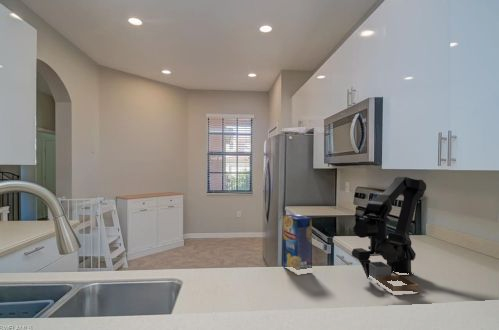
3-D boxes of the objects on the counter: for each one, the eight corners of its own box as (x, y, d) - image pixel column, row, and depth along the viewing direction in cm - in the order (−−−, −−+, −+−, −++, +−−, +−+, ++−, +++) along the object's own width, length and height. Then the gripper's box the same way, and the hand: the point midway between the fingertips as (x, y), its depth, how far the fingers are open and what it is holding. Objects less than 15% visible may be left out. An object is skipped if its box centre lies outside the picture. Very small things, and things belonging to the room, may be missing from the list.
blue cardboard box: (297, 264, 125) (296, 214, 126) (312, 273, 115) (311, 218, 116) (283, 267, 123) (283, 215, 123) (297, 275, 113) (297, 219, 113)
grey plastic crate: (381, 277, 111) (381, 261, 111) (391, 283, 105) (391, 266, 105) (366, 278, 110) (366, 262, 110) (376, 284, 104) (376, 267, 104)
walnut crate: (400, 282, 105) (400, 274, 105) (418, 293, 96) (418, 284, 96) (377, 284, 104) (377, 276, 104) (393, 295, 95) (393, 286, 95)
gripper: (367, 240, 99) (367, 286, 98) (416, 238, 102) (416, 282, 101) (351, 233, 110) (351, 274, 109) (395, 231, 113) (396, 271, 112)
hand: (378, 276), depth 108 cm, fingers open, 9 cm apart
